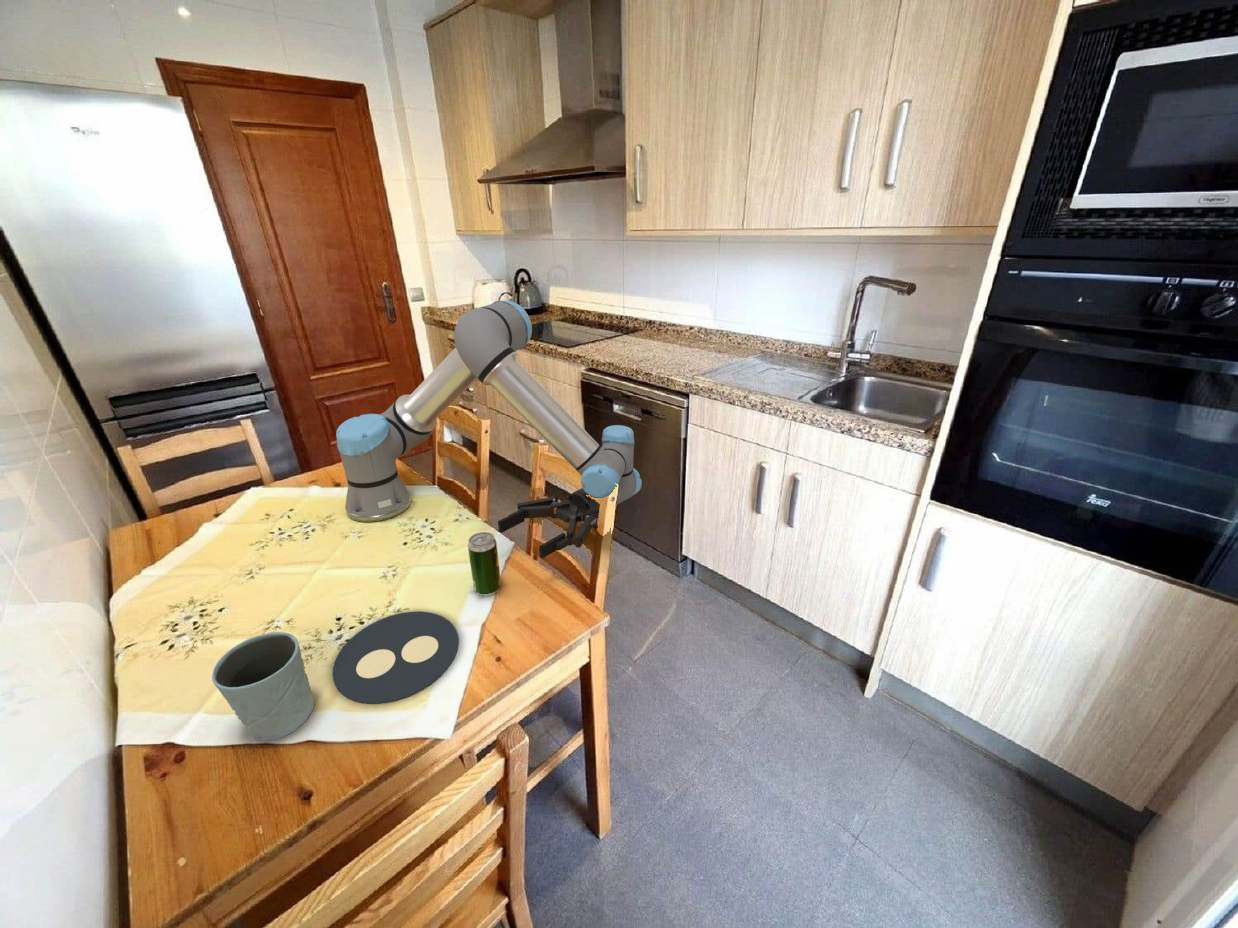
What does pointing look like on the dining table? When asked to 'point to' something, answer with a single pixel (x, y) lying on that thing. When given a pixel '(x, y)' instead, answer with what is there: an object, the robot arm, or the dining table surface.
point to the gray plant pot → (266, 685)
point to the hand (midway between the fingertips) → (518, 539)
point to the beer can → (484, 563)
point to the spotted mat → (395, 657)
